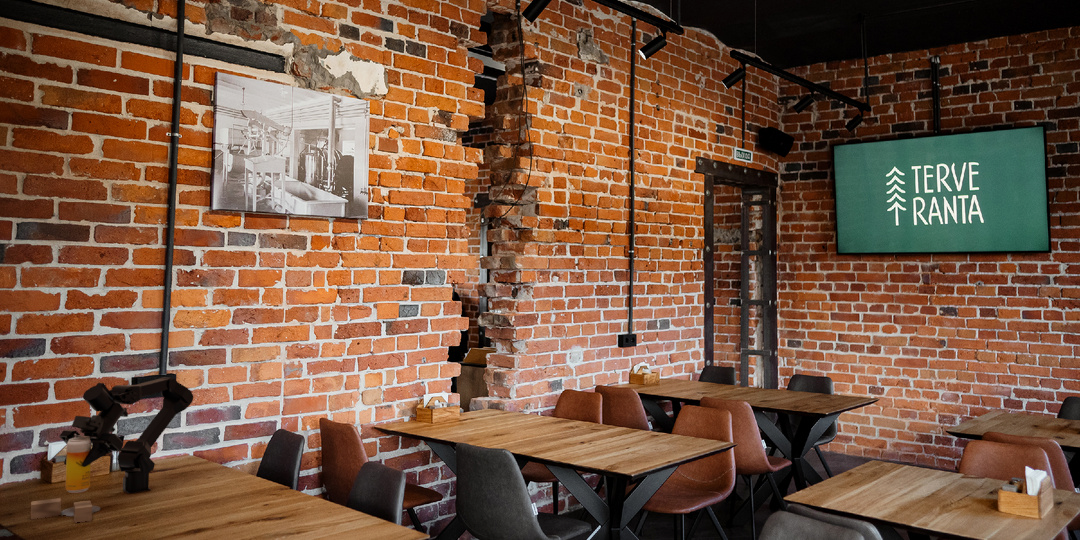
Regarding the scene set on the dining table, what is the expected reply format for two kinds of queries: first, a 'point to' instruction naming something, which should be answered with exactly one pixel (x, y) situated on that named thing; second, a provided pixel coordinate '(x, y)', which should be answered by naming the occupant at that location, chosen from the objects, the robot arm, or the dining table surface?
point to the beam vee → (53, 508)
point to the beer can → (77, 465)
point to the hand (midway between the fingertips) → (74, 465)
